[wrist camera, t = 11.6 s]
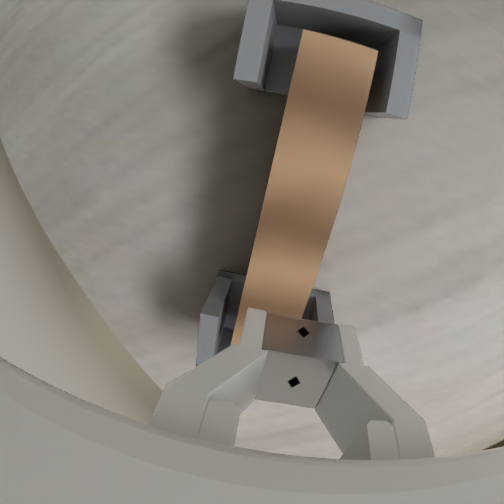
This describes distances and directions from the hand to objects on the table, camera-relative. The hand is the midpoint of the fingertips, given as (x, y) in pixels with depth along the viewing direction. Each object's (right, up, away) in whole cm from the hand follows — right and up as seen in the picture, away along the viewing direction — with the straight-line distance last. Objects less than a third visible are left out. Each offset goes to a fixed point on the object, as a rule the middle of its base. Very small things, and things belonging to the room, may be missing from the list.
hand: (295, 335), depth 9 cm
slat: (+2, +6, +13) cm, 14 cm away
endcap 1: (+3, +15, +9) cm, 18 cm away
